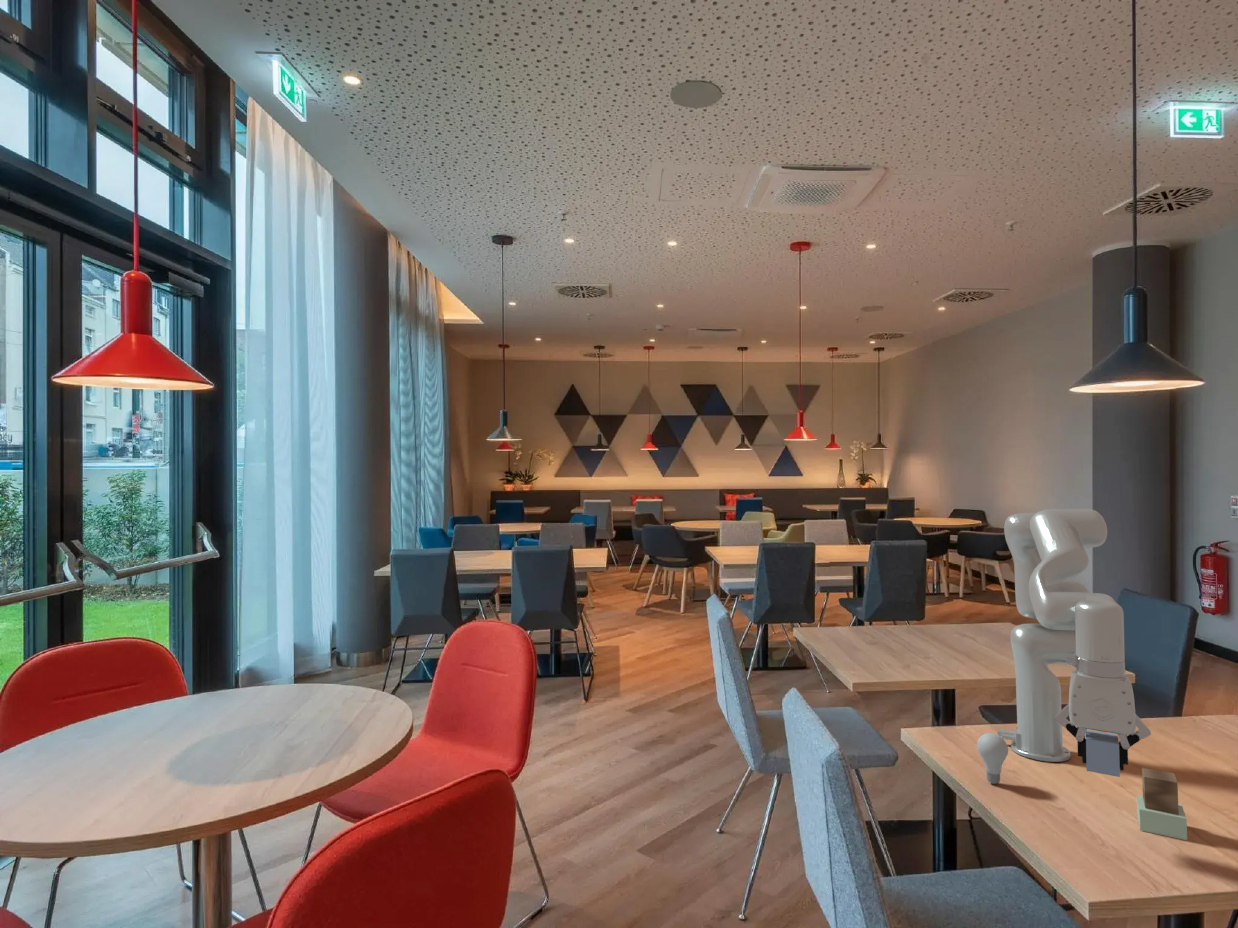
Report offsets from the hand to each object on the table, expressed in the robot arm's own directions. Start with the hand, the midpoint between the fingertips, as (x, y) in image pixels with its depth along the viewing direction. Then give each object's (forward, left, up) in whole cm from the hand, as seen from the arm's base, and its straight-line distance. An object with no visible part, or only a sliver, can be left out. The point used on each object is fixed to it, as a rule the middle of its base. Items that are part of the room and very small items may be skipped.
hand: (1102, 762), depth 128 cm
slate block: (0, 0, -1) cm, 1 cm away
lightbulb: (-20, +16, -14) cm, 29 cm away
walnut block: (+9, +11, -10) cm, 18 cm away
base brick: (+9, +11, -14) cm, 20 cm away
